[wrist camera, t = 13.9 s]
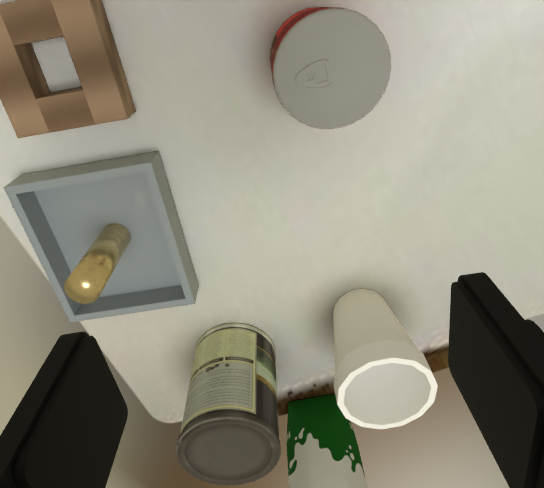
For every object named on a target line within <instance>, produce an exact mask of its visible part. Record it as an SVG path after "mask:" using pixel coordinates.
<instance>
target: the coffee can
mask: <svg viewBox="0 0 544 488" xmlns="http://www.w3.org/2000/svg"><path fill="white" fill-rule="evenodd" d="M275 358H276V352H275V347H274V344H273V342H272V341H271V339H270V338H269V337H268V336H267V335H266V334H265V333H264V332H263V331H261V330H259V329H258V328H256V327H253V326H250V325H247V324H241V323H229V324H223V325H220V326H217V327H214V328H212V329H210V330H209V331H207V332H206V333H205V334H204V335H203V336H202V337H201V338H200V339H199V341H198V343H197V345H196V348H195V358H194V363H193V368H192V374H191V379H190V385H189V390H188V395H187V400H186V406H185V411H184V417H183V422H182V427H181V433H180V435H179V438H178V442H177V446H176V454H177V458H178V461H179V463H180V464H181V465H182V467H183V468H184V469H185V470H186V471H187V472H188V473H189V474H191V475H192V476H194V477H196V478H198V479H200V480H202V481H205V482H209V483H213V484H219V485H238V484H244V483H249V482H252V481H255V480H258V479H260V478H262V477H263V476H265V475H267V474H268V473H269V472H270V471H271V470H272V469H273V468H274V467H275V466H276V465H277V463H278V461H279V458H280V453H281V448H280V441H279V431H278V410H277V388H276V366H275Z"/></svg>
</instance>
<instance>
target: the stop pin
mask: <svg viewBox="0 0 544 488" xmlns="http://www.w3.org/2000/svg"><path fill="white" fill-rule="evenodd" d="M130 241H131V235H130V232H129V230H128V229H127V228H126V227H125V226H123V225H121V224H118V223H111V224H108V225H106V226H105V227H104V228H103V230H102V231H101V233H100V234H99V235H98V237H97V238H96V240H95V241H94V242H93V244H92V245H91V246H90V248H89V249H88V251H87V252H86V253H85V255H84V256H83V258H82V259H81V260H80V262H79V263H78V264H77V266H76V267H75V269H74V270H73V271H72V273H71V274H70V276H69V277H68V278H67V280H66V281H65V284H64V290H65V292H66V294H67V296H68V297H69V298H71V299H72V300H73V301H75V302H78V303H81V304H89V303H93V302H94V301H96V300H97V299H98V298H99V296H100V294H101V292H102V290H103V289H104V287H105V285H106V283H107V282H108V280H109V278H110V276H111V275H112V273H113V271H114V269H115V268H116V266H117V264H118V262H119V261H120V259H121V257H122V255H123V254H124V252H125V250H126V248H127V246H128V245H129V243H130Z"/></svg>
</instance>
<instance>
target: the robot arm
mask: <svg viewBox="0 0 544 488" xmlns="http://www.w3.org/2000/svg"><path fill="white" fill-rule="evenodd" d="M448 363H449V368H450V372H451V374H452V377H453V378H454V380H455V382H456V384H457V386H458V388H459V390H460V392H461V394H462V395H463V398H464V400H465V402H466V404H467V406H468V408H469V409H470V411H471V413H472V415H473V417H474V419H475V421H476V423H477V425H478V427H479V429H480V431H481V433H482V435H483V437H484V439H485V441H486V443H487V445H488V447H489V448H490V450H491V452H492V454H493V456H494V458H495V460H496V462H497V464H498V466H499V468H500V470H501V471H502V473H503V476H504V478H505V479H506V481H507V483H508V485H509V487H510V488H544V332H543V331H542V330H541V329H540V328H539V326H538V325H536V324H535V323H534V322H533V321H531V320H524V319H523V318H522V316H521V315H520V314H519V313H518V312H517V310H516V309H515V308H514V307H513V306H512V304H511V303H510V302H509V301H508V300H507V298H506V297H505V296H504V295H503V294H502V292H501V291H500V290H499V289H498V288H497V286H496V285H495V284H494V283H493V282H492V280H491V279H490V278H489V277H488V276H487V275H486V274H485V273H483V272H481V273H475V274H468V275H461V276H459V278H458V282H453V283H452V285H451V305H450V330H449V355H448ZM127 415H128V410H127V406H126V403H125V401H124V399H123V396H122V394H121V392H120V390H119V388H118V386H117V384H116V381H115V379H114V377H113V375H112V373H111V371H110V369H109V367H108V365H107V362H106V360H105V358H104V356H103V354H102V352H101V350H100V347H99V345H98V343H97V341H96V339H95V338H94V337H93V336H89V335H88V334H87V333H86V332H77V333H71V334H64V335H61V336H60V337H59V339H58V340H57V342H56V344H55V345H54V347H53V349H52V351H51V352H50V354H49V355H48V357H47V359H46V360H45V362H44V364H43V365H42V367H41V369H40V370H39V372H38V374H37V375H36V377H35V379H34V381H33V382H32V384H31V385H30V387H29V389H28V390H27V392H26V394H25V396H24V397H23V399H22V400H21V402H20V404H19V405H18V407H17V409H16V411H15V412H14V414H13V415H12V417H11V419H10V421H9V422H8V424H7V426H6V427H5V429H4V430H3V432H2V434H1V436H0V488H105V486H106V483H107V480H108V477H109V474H110V471H111V468H112V465H113V461H114V458H115V455H116V452H117V449H118V446H119V443H120V439H121V436H122V433H123V430H124V427H125V424H126V421H127Z"/></svg>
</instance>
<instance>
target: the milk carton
mask: <svg viewBox="0 0 544 488" xmlns="http://www.w3.org/2000/svg"><path fill="white" fill-rule="evenodd" d="M287 457H288V474H289V488H367V484H366V480H365V475H364V470H363V466H362V462H361V457H360V453H359V448H358V444H357V441H356V438H355V434H354V431H353V428H352V425H351V422H350V420H348V419H346V418H345V416H344V415H343V413H342V411H341V410H340V408H339V407H338V405H337V400H336V395H335V394H331V395H325V396H319V397H314V398H308V399H302V400H296V401H291V402H288V425H287Z"/></svg>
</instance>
